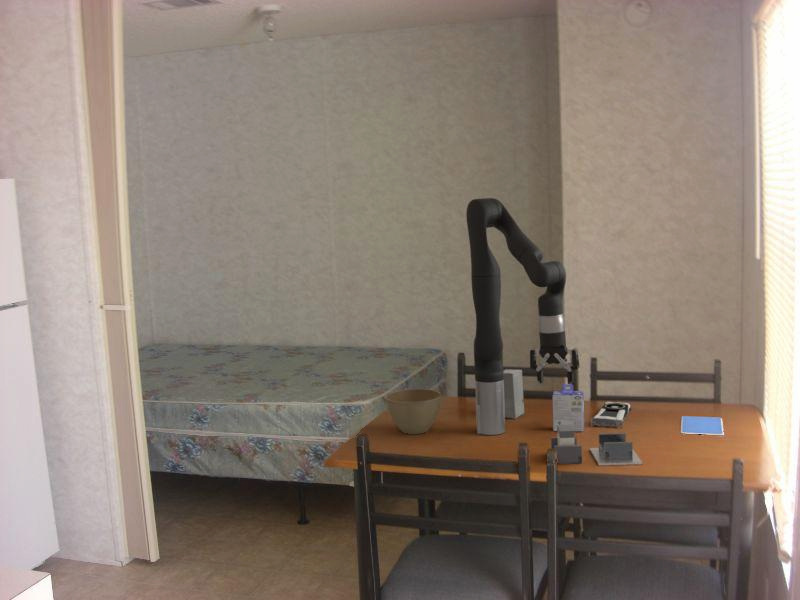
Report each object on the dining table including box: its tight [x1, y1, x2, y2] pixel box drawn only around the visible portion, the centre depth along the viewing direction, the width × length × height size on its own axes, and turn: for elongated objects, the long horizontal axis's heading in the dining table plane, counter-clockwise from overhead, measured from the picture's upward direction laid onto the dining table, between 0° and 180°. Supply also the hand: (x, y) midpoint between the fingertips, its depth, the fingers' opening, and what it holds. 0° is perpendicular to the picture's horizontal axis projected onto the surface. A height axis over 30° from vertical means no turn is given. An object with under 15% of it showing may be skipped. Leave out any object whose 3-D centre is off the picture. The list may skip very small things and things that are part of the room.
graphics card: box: [590, 401, 632, 429], centre depth 273 cm, size 10×3×25 cm
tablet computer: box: [680, 415, 725, 436], centre depth 258 cm, size 19×13×1 cm, turn 160°
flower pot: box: [385, 388, 442, 435], centre depth 267 cm, size 18×18×12 cm
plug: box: [556, 425, 575, 446], centre depth 233 cm, size 4×6×9 cm, turn 177°
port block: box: [589, 432, 643, 466], centre depth 232 cm, size 12×14×6 cm
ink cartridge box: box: [551, 384, 585, 432], centre depth 261 cm, size 10×6×14 cm, turn 78°
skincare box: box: [503, 368, 525, 420], centre depth 281 cm, size 8×7×16 cm
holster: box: [550, 435, 583, 465], centre depth 233 cm, size 7×9×5 cm
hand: (555, 383), depth 240 cm, fingers open, 8 cm apart
